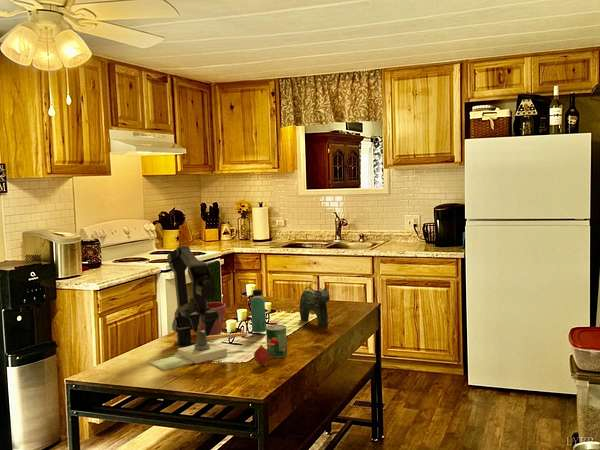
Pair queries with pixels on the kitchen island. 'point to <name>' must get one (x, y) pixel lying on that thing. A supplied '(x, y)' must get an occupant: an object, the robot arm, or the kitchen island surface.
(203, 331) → the plug
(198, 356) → the socket block
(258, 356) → the onion
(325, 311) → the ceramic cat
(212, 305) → the plant pot
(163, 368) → the pale green mat
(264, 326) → the beverage bottle
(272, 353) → the canned tomato
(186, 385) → the kitchen island surface
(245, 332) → the lever
